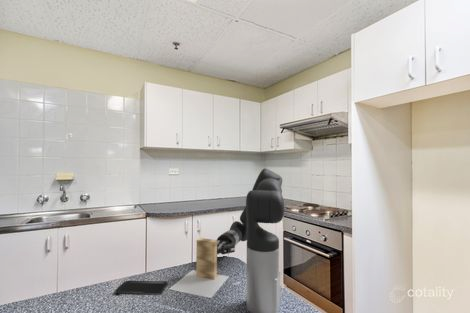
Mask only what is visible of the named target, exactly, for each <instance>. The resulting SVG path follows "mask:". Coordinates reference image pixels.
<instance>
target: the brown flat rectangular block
mask: <svg viewBox="0 0 470 313" xmlns="http://www.w3.org/2000/svg"><path fill="white" fill-rule="evenodd" d="M195 253H196V258H195V259H196V260H195V261H196V262H195V263H196V264H195V265H196V267H195V268H196V269H195V271H196V277H202V278H207V279H212V280H214V279H215V278H216V277H217V274H218V254H217V239H210V238H203V237H200V238H197V239H196V252H195Z"/></svg>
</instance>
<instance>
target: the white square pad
mask: <svg viewBox="0 0 470 313" xmlns="http://www.w3.org/2000/svg"><path fill="white" fill-rule="evenodd" d="M228 278H230V276H229V275H223V274H218V273H217V277H216V278H215V279H214V280H212V279H207V278H202V277H196V269H192V270H190V271H189V272H188V273H186V274H185V275H184V276H183V277H181V279H179V280H178V281H177V282H176V283H175V284H173V285H171V287H170V288H169V290H172V291H176V292H180V293H181V292H182V293H184V294H190V295H194V296H199V297H204V298H208V299H209V298H210V299H212V298H213V297H214V296H215V295H216V293H217V292H218V290H219V289H220V288H221V287H222V285H224V283H225V282H226V281H227V280H228Z"/></svg>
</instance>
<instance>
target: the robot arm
mask: <svg viewBox="0 0 470 313" xmlns="http://www.w3.org/2000/svg"><path fill="white" fill-rule="evenodd" d="M282 185H283V178H282V176H281V175H280V174H277V173H276V172H274V171H272V170H270V169H269V168H263V169H262V170H261V171H260V172H259V174H258V176H257V177H256V180H255V183H254V184H253V187H252V190H248V192H247V195H246V198H245V206H244V209H243V210H242V212H241V214H240V216H239V221H238V220H237V221H234V222H233V223H232V224H231V225H230V228H229V230H227V231H225V232H223V233H222V234H221V235H219V236H218V237H217V239H216V240H217V255H226V254H232V253H235V252H236V246H237V245H238V244H239V242H246V293H245V294H246V299H245V300H246V304H245V306H246V309H247V310H248V312H249V313H279V310H280V307H281V271H280V239H279V237H278V236H277V235H276V234H275V233H272V232H270V231H268V230H265V229H264V228H263V227H262V226H260V225H259V224H279V223H280V222H281V221H282V220H283V218H284V214H285V201H284V197H283V194H282V193H283V190H282Z"/></svg>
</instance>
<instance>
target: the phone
mask: <svg viewBox="0 0 470 313" xmlns="http://www.w3.org/2000/svg"><path fill="white" fill-rule="evenodd" d="M168 284H169V282H168V281H159V280H158V281H157V280H154V281H152V280H126V281H124V282H122V283H121V284H120V285H119V286H118V287H117V289H116V290H114V296H121V295H138V296H139V295H142V296H143V295H144V296H145V295H147V296H159V295H162V294H163V292H164V291H165V289H166V288H167V286H168Z"/></svg>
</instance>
